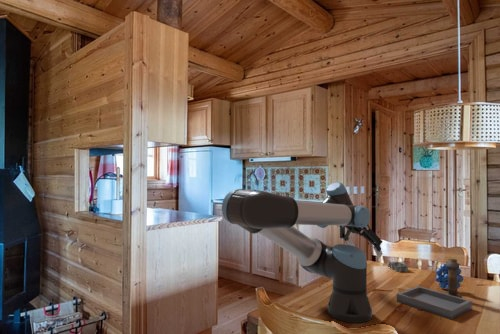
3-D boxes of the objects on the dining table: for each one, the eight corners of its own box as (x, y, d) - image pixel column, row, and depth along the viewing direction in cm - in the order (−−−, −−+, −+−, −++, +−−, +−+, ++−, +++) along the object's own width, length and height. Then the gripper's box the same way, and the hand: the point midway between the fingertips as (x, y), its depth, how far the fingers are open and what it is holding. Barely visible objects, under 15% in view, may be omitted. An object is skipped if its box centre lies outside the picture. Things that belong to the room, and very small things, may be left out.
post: (457, 302, 128) (457, 262, 128) (441, 297, 133) (441, 259, 133) (464, 299, 131) (464, 260, 132) (448, 294, 136) (448, 257, 137)
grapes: (468, 293, 138) (468, 264, 138) (460, 296, 135) (459, 266, 135) (440, 285, 148) (440, 258, 148) (432, 287, 145) (431, 260, 145)
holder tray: (451, 319, 112) (451, 310, 112) (396, 301, 128) (396, 293, 128) (471, 309, 121) (471, 300, 121) (418, 293, 138) (418, 286, 138)
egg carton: (385, 267, 179) (385, 259, 179) (399, 266, 179) (399, 259, 179) (396, 272, 168) (396, 264, 168) (410, 272, 169) (410, 264, 169)
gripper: (379, 212, 129) (397, 252, 136) (330, 207, 150) (347, 241, 156) (369, 224, 126) (388, 265, 132) (321, 217, 146) (339, 252, 153)
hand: (366, 252), depth 144 cm, fingers open, 13 cm apart
